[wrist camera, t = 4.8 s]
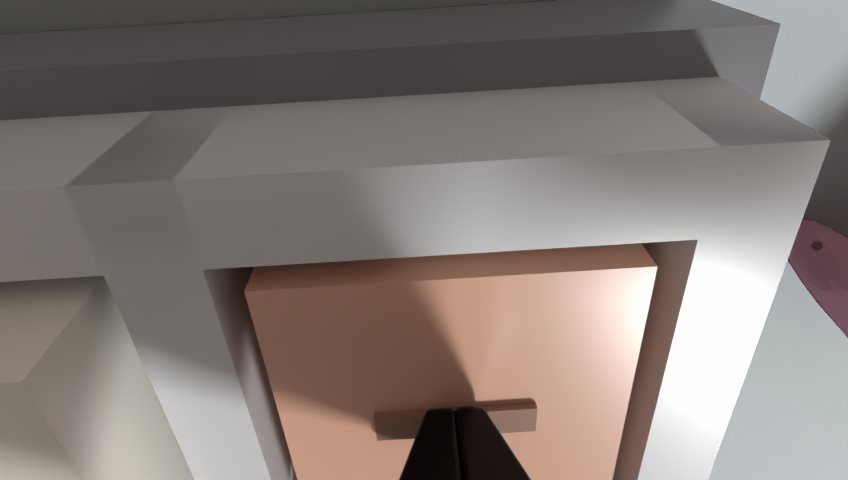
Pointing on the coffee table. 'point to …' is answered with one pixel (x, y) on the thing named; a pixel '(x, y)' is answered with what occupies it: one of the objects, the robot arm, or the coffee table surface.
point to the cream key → (77, 389)
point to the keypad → (407, 184)
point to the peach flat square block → (454, 354)
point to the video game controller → (823, 268)
